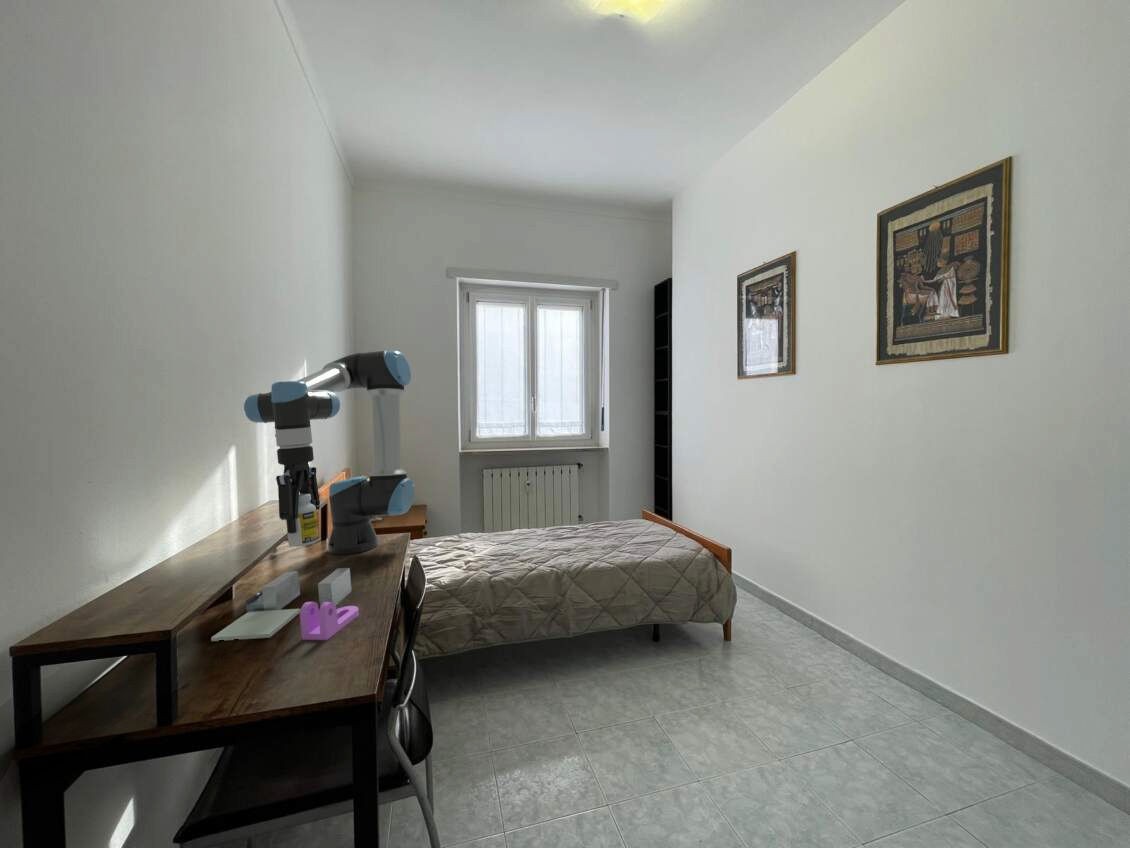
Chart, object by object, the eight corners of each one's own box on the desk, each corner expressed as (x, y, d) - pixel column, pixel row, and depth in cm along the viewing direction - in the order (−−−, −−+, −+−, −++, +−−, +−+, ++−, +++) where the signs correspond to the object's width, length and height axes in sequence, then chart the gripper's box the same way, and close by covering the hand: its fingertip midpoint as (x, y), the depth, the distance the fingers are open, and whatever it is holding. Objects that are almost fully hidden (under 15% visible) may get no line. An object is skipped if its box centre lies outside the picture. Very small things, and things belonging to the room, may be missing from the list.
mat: (248, 615, 113) (248, 611, 113) (300, 611, 113) (300, 608, 113) (211, 641, 101) (211, 637, 101) (269, 637, 101) (269, 633, 101)
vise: (268, 596, 124) (265, 573, 123) (351, 591, 124) (349, 567, 123) (242, 613, 114) (239, 588, 113) (333, 608, 114) (330, 582, 113)
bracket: (327, 640, 98) (323, 606, 98) (302, 640, 99) (299, 606, 99) (363, 612, 111) (361, 581, 110) (341, 611, 112) (338, 581, 111)
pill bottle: (299, 548, 113) (294, 499, 113) (282, 545, 117) (278, 497, 116) (324, 540, 119) (320, 493, 118) (308, 538, 122) (304, 492, 122)
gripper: (300, 443, 126) (309, 531, 127) (253, 452, 107) (263, 555, 108) (329, 441, 126) (337, 529, 127) (287, 449, 107) (297, 553, 108)
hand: (303, 541), depth 118 cm, fingers closed on pill bottle, 6 cm apart
